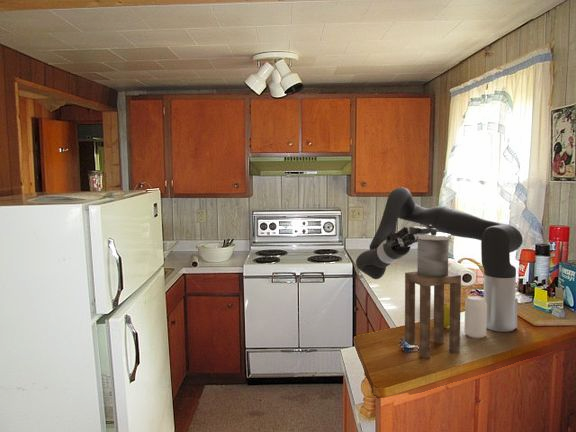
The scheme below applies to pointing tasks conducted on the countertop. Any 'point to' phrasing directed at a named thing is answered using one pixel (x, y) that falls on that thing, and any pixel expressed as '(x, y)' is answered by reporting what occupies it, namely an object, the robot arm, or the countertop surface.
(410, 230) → the cooker lid
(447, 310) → the lemon
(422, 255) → the stand
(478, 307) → the beverage can
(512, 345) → the countertop surface
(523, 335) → the countertop surface
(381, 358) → the countertop surface
